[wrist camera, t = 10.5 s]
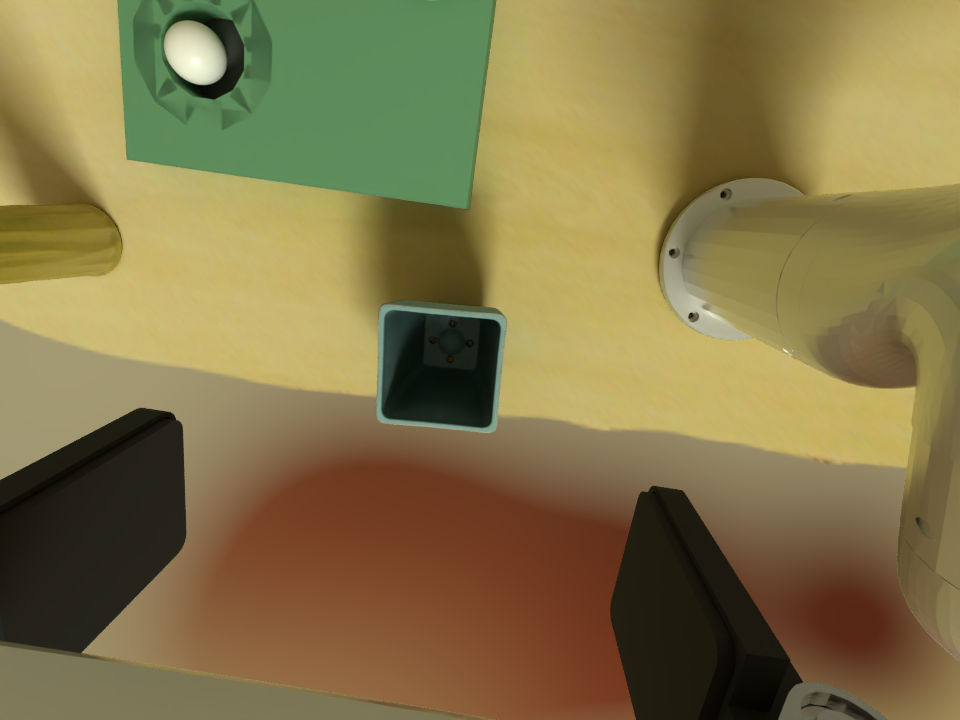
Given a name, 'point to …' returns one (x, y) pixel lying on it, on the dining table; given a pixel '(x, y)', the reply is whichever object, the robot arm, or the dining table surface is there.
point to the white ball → (195, 52)
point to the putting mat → (316, 93)
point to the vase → (56, 242)
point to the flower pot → (439, 365)
